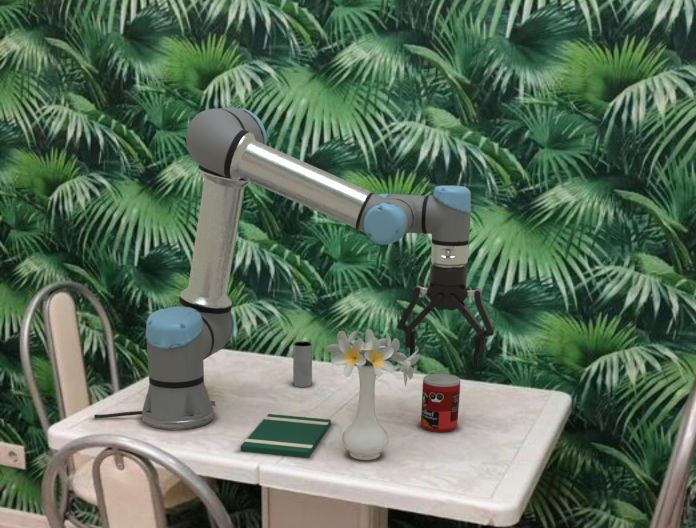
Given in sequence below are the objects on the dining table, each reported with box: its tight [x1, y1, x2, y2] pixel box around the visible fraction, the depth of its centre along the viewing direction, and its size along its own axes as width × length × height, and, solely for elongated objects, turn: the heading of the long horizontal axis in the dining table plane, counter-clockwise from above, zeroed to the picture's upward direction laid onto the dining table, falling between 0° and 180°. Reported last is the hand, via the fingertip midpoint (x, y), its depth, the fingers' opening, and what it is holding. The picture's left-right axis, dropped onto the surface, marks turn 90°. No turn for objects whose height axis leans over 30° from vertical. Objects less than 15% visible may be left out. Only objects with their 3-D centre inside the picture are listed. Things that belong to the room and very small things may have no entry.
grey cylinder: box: [292, 341, 313, 388], centre depth 231 cm, size 4×4×10 cm
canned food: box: [420, 373, 461, 433], centre depth 206 cm, size 8×8×11 cm
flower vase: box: [324, 328, 421, 461], centre depth 187 cm, size 13×18×25 cm
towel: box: [240, 413, 332, 459], centre depth 199 cm, size 14×20×1 cm
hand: (443, 364), depth 203 cm, fingers open, 13 cm apart
